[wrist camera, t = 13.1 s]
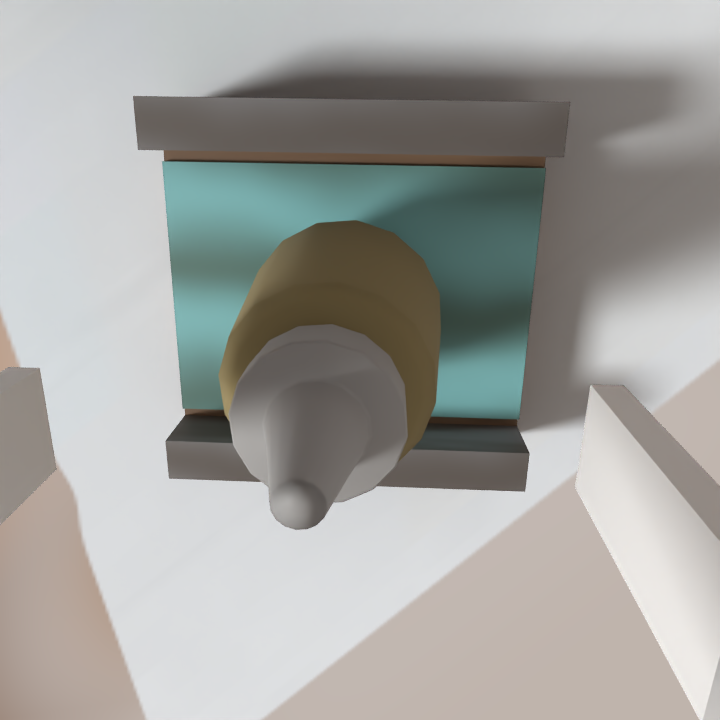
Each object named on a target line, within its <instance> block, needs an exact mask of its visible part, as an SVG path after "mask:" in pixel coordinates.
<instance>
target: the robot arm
mask: <svg viewBox="0 0 720 720" xmlns="http://www.w3.org/2000/svg"><path fill="white" fill-rule="evenodd" d="M55 470H56V463H55V457H54V451H53V445H52V439H51V433H50V427H49V421H48V415H47V409H46V403H45V397H44V391H43V385H42V379H41V373H40V368H19V367H8V368H6V369H5V370H3V371H2V372H0V525H1V524H2V523H3V522H4V521H5V520H6V519H7V518H8V517H9V516H10V515H11V514H12V513H13V512H14V511H15V510H16V509H17V508H18V507H19V506H20V505H21V504H22V503H23V502H24V501H25V500H26V499H27V498H28V497H29V496H30V495H31V494H32V493H33V492H34V491H35V490H36V489H37V488H38V487H39V486H40V485H41V484H42V483H43V482H44V481H45V480H46V479H47V478H48V477H49V476H50V475H51V474H52V473H53V472H54V471H55ZM575 488H576V490H577V492H578V494H579V496H580V498H581V500H582V501H583V503H584V505H585V507H586V509H587V511H588V513H589V514H590V516H591V518H592V520H593V522H594V524H595V525H596V527H597V529H598V531H599V533H600V535H601V537H602V539H603V541H604V542H605V544H606V546H607V548H608V550H609V551H610V554H611V555H612V557H613V559H614V561H615V563H616V565H617V567H618V568H619V570H620V572H621V574H622V576H623V578H624V580H625V582H626V584H627V585H628V587H629V589H630V591H631V593H632V595H633V597H634V598H635V600H636V602H637V604H638V606H639V608H640V610H641V611H642V613H643V615H644V617H645V619H646V621H647V623H648V625H649V626H650V628H651V630H652V632H653V634H654V636H655V638H656V640H657V641H658V643H659V645H660V647H661V649H662V651H663V653H664V654H665V656H666V658H667V660H668V662H669V664H670V666H671V667H672V669H673V671H674V673H675V675H676V677H677V679H678V681H679V682H680V684H681V686H682V688H683V690H684V692H685V694H686V695H687V697H688V699H689V701H690V703H691V705H692V707H693V708H694V710H695V712H696V714H697V716H698V718H699V720H720V486H719V485H718V484H717V483H716V482H715V480H714V479H713V478H712V477H711V476H710V475H709V474H708V473H707V472H706V471H705V470H704V469H703V468H702V467H701V466H700V465H699V464H698V463H697V462H696V461H695V460H694V458H692V457H691V456H690V454H689V453H688V452H687V451H686V450H685V449H684V448H683V447H682V446H681V445H680V444H679V443H678V442H677V441H676V440H675V439H674V438H673V437H672V435H671V434H670V433H668V431H667V430H666V429H665V428H664V427H663V426H662V425H661V424H660V423H659V422H658V421H657V420H656V419H655V418H654V417H653V416H652V415H651V413H650V412H649V411H648V410H647V409H646V408H645V407H644V406H643V405H642V404H641V403H640V402H639V401H638V400H637V399H636V398H635V397H634V396H633V395H632V394H631V393H630V392H629V390H628V389H627V388H626V387H625V386H624V385H590V391H589V398H588V405H587V411H586V418H585V425H584V431H583V438H582V445H581V451H580V458H579V465H578V471H577V479H576V485H575Z"/></svg>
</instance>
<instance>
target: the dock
mask: <svg viewBox="0 0 720 720" xmlns="http://www.w3.org/2000/svg"><path fill="white" fill-rule="evenodd" d="M133 101H134V112H135V122H136V133H137V143H138V150H164V161H162V164H163V176H164V188H165V201H166V213H167V225H168V237H169V249H170V261H171V273H172V285H173V297H174V309H175V321H176V333H177V345H178V357H179V369H180V382H181V394H182V406H183V408H184V409H185V416H184V417H183V419H182V420H181V421H180V423H179V424H178V425H177V427H176V428H175V429H174V431H173V432H172V433H171V434H170V436H169V437H168V438H167V440H166V451H167V462H168V472H169V478H170V479H197V480H225V481H252V482H261V481H260V480H259V479H257V478H256V477H255V476H253V475H252V474H251V473H250V472H249V470H248V468H247V467H246V465H245V464H244V462H243V460H242V459H241V457H240V456H239V454H238V452H237V451H236V449H235V448H234V446H233V441H232V434H231V428H230V422H229V420H228V419H227V417H226V415H225V413H224V407H223V400H222V394H221V388H220V382H219V371H220V367H221V363H222V360H223V356H224V352H225V349H226V345H227V341H228V337H229V335H230V332H231V330H232V328H233V326H234V324H235V321H236V319H237V317H238V315H239V313H240V310H241V308H242V306H243V304H244V302H245V299H246V297H247V295H248V293H249V291H250V288H251V286H252V284H253V282H254V279H255V277H256V275H257V273H258V271H259V269H260V268H261V267H262V265H263V264H264V263H265V262H266V260H267V259H268V258H269V257H270V256H271V254H272V253H273V252H274V251H275V249H276V248H277V247H278V246H279V244H280V243H281V242H282V241H283V240H285V239H287V238H289V237H291V236H293V235H295V234H296V233H298V232H300V231H302V230H304V229H306V228H308V227H310V226H312V225H314V224H316V223H322V222H336V221H350V220H358V221H361V222H364V223H367V224H370V225H373V226H376V227H378V228H381V229H384V230H387V231H390V232H393V233H395V234H396V235H397V236H398V237H399V238H400V239H402V240H403V241H404V242H405V243H406V244H407V245H408V246H409V247H411V248H412V249H413V250H414V251H415V252H416V253H417V254H418V255H420V256H421V257H422V258H423V259H424V261H425V263H426V266H427V268H428V270H429V272H430V274H431V276H432V278H433V280H434V282H435V285H436V287H437V289H438V291H439V293H440V320H441V336H440V351H439V366H438V381H437V396H436V404H435V407H434V409H433V412H432V414H431V417H430V419H429V422H428V424H427V427H426V429H425V431H424V434H423V436H422V439H421V440H420V441H419V442H418V443H417V444H416V445H415V446H414V447H413V448H412V449H411V450H410V451H409V452H408V453H407V454H406V455H405V456H404V457H403V458H402V459H401V460H400V461H399V462H398V463H397V466H396V467H395V468H394V469H393V470H392V471H391V472H390V473H389V474H388V475H387V476H386V477H385V478H384V479H383V480H382V481H381V482H380V483H379V484H378V485H377V486H388V487H415V488H442V489H470V490H497V491H524V492H525V488H526V479H527V471H528V462H529V451H528V449H527V447H526V445H525V443H524V440H523V438H522V436H521V434H520V432H519V430H518V427H517V420H518V419H519V415H520V406H521V396H522V387H523V378H524V368H525V359H526V350H527V340H528V331H529V322H530V312H531V303H532V294H533V284H534V275H535V266H536V256H537V247H538V238H539V228H540V219H541V210H542V201H543V191H544V182H545V173H546V168H544V167H545V157H564V150H565V142H566V133H567V124H568V116H569V107H570V102H524V101H451V100H378V99H305V98H231V97H158V96H133Z"/></svg>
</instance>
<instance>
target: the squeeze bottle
mask: <svg viewBox="0 0 720 720" xmlns="http://www.w3.org/2000/svg"><path fill="white" fill-rule="evenodd" d="M440 336H441V320H440V293H439V291H438V289H437V287H436V285H435V282H434V280H433V278H432V276H431V274H430V272H429V270H428V268H427V266H426V263H425V261H424V259H423V258H422V257H421V256H420V255H418V254H417V253H416V252H415V251H414V250H413V249H412V248H411V247H409V246H408V245H407V244H406V243H405V242H404V241H403V240H402V239H400V238H399V237H398V236H397V235H396V234H395V233H393V232H390V231H387V230H384V229H381V228H378V227H376V226H373V225H370V224H367V223H364V222H361V221H358V220H350V221H336V222H322V223H316V224H314V225H312V226H310V227H308V228H306V229H304V230H302V231H300V232H298V233H296V234H295V235H293V236H291V237H289V238H287V239H285V240H283V241H282V242H281V243H280V244H279V246H278V247H277V248H276V249H275V251H274V252H273V253H272V254H271V256H270V257H269V258H268V259H267V260H266V262H265V263H264V264H263V265H262V267H261V268H260V269H259V271H258V273H257V275H256V277H255V279H254V282H253V284H252V286H251V288H250V291H249V293H248V295H247V297H246V299H245V302H244V304H243V306H242V308H241V310H240V313H239V315H238V317H237V319H236V321H235V324H234V326H233V328H232V330H231V332H230V335H229V337H228V341H227V345H226V349H225V352H224V356H223V360H222V363H221V367H220V371H219V382H220V388H221V394H222V400H223V407H224V413H225V415H226V417H227V419H228V420H229V422H230V428H231V434H232V441H233V446H234V448H235V449H236V451H237V452H238V454H239V456H240V457H241V459H242V460H243V462H244V464H245V465H246V467H247V468H248V470H249V472H250V473H251V474H252V475H253V476H255V477H256V478H257V479H259V480H260V481H261V482H263V483H264V484H265V485H267V486H268V487H269V502H270V509H271V512H272V514H273V515H274V517H275V519H276V520H277V521H278V522H280V523H281V524H282V525H284V526H285V527H289V528H292V529H295V530H299V529H308V528H311V527H313V526H316V525H317V524H318V523H319V522H320V521H321V520H322V519H323V518H324V517H325V515H326V514H327V512H328V510H329V509H330V507H331V505H332V504H333V502H344V501H347V500H349V499H351V498H354V497H356V496H359V495H361V494H363V493H366V492H368V491H370V490H373V489H374V488H375V487H376V486H377V485H378V484H379V483H380V482H381V481H382V480H383V479H384V478H385V477H386V476H387V475H388V474H389V473H390V472H391V471H392V470H393V469H394V468H395V467H396V466H397V463H398V462H399V461H400V460H401V459H402V458H403V457H404V456H405V455H406V454H407V453H408V452H409V451H410V450H411V449H412V448H413V447H414V446H415V445H416V444H417V443H418V442H419V441H420V440H421V439H422V436H423V434H424V431H425V429H426V427H427V424H428V422H429V419H430V417H431V414H432V412H433V409H434V407H435V404H436V396H437V381H438V366H439V351H440Z"/></svg>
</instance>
